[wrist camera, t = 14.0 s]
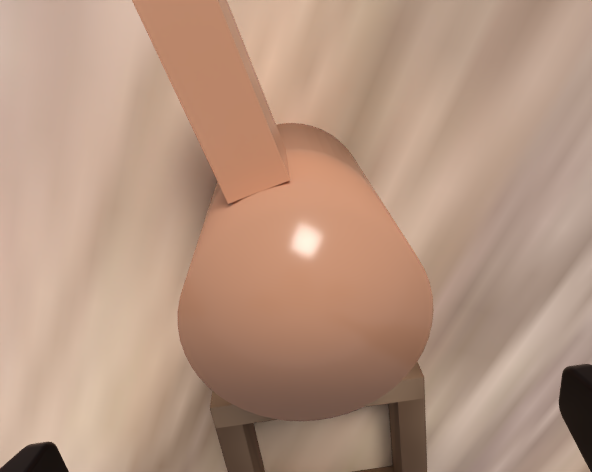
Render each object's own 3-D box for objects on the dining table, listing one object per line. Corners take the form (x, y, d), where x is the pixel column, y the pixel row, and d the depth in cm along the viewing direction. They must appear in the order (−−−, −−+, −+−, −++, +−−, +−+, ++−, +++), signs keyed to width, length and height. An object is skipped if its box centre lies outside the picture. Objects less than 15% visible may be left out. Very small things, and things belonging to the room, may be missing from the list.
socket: (409, 343, 23) (424, 377, 20) (415, 477, 26) (428, 518, 24) (215, 371, 23) (210, 408, 21) (250, 501, 27) (248, 544, 24)
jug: (380, 233, 20) (457, 377, 12) (251, 280, 21) (240, 448, 13) (288, -45, 16) (310, -118, 8) (127, 25, 16) (-14, 27, 8)
